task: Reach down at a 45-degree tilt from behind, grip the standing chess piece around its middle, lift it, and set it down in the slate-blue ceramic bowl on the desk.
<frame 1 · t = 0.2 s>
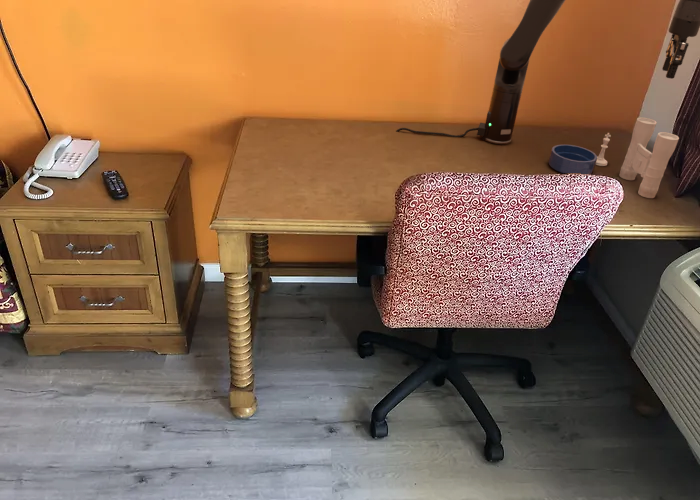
hand: (667, 74, 179), 29 cm above the table, tool pointing down, fingers open, 8 cm apart
chess piece: (598, 163, 193), on the table
binoculars: (636, 186, 180), on the table
bowl: (570, 168, 187), on the table
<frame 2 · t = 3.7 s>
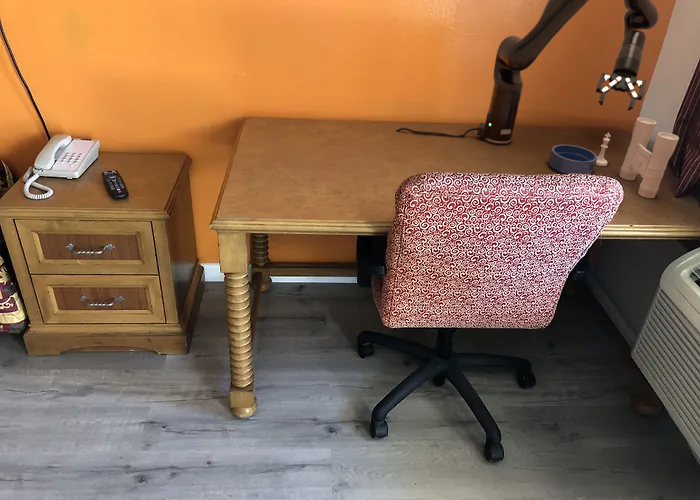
hand: (615, 106, 194), 15 cm above the table, tool tilted 45°, fingers open, 8 cm apart
nothing on the table moved.
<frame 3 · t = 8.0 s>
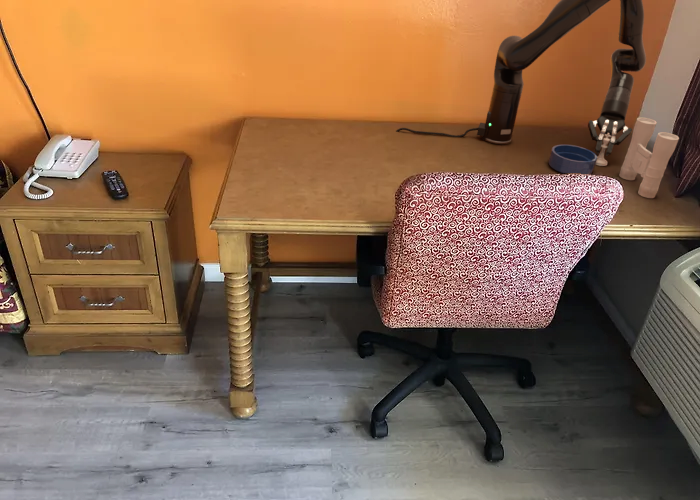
hand: (602, 153, 189), 4 cm above the table, tool tilted 45°, fingers closed on chess piece
chess piece: (598, 163, 193), on the table, touching gripper
everything else where it was.
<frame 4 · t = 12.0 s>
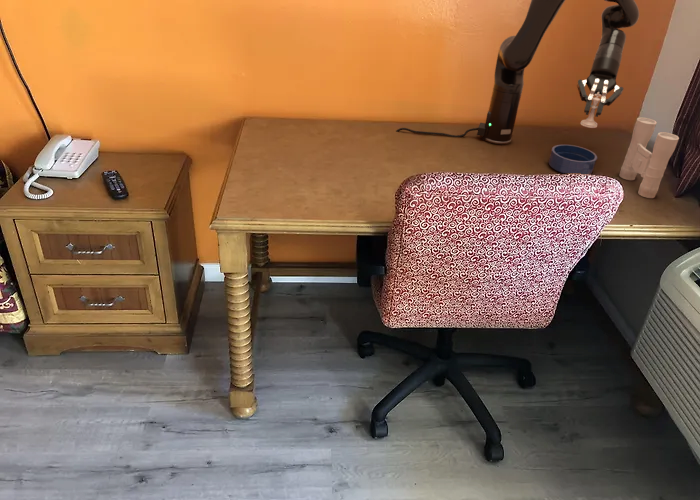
hand: (592, 114, 178), 18 cm above the table, tool tilted 45°, fingers closed on chess piece
chess piece: (588, 125, 182), point 13 cm above the table, touching gripper
everything else where it was.
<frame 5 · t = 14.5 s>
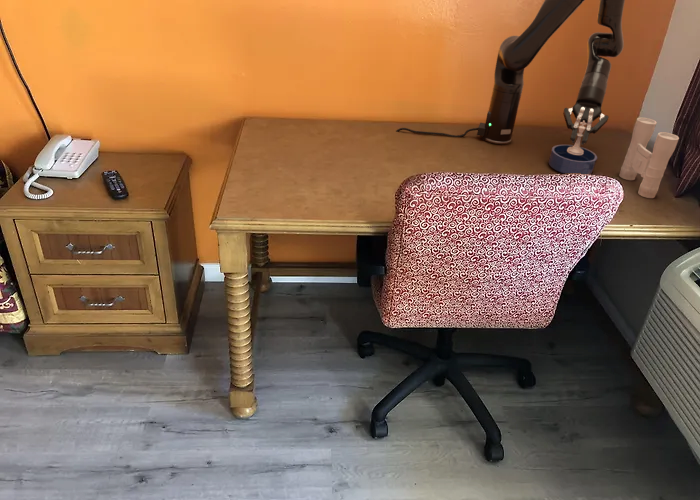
hand: (578, 142, 181), 9 cm above the table, tool tilted 45°, fingers closed on chess piece
chess piece: (574, 152, 185), point 5 cm above the table, touching gripper
everything else where it was.
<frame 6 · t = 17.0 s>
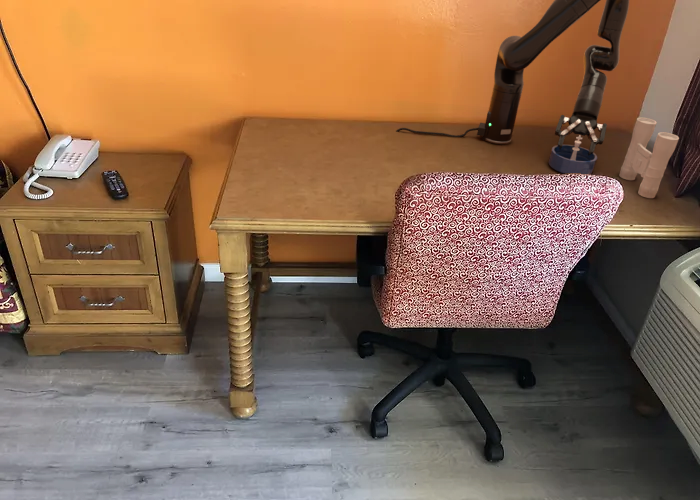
hand: (574, 151, 183), 6 cm above the table, tool tilted 45°, fingers open, 8 cm apart
chess piece: (570, 166, 187), resting on bowl
everything else where it was.
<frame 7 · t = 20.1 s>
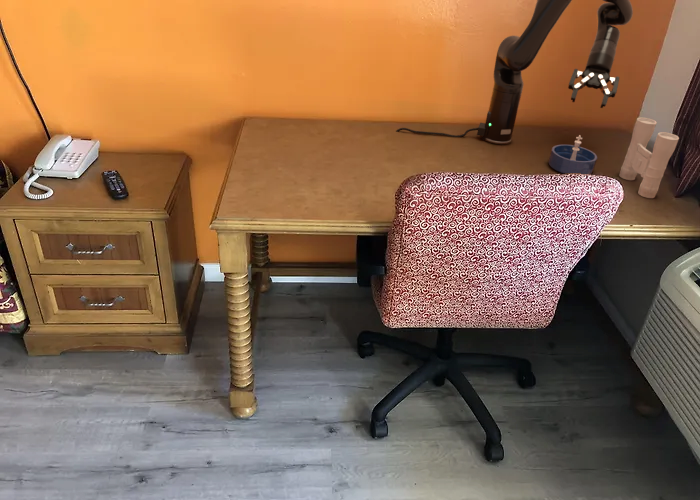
hand: (587, 103, 188), 17 cm above the table, tool tilted 45°, fingers open, 8 cm apart
nothing on the table moved.
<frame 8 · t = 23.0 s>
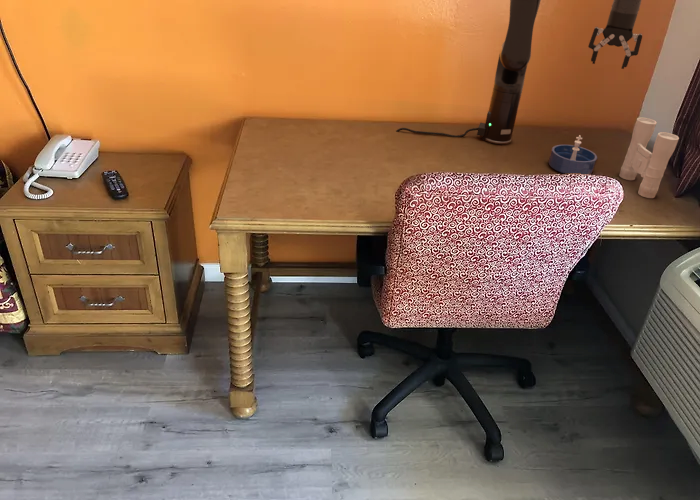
hand: (608, 65, 185), 28 cm above the table, tool pointing down, fingers open, 8 cm apart
nothing on the table moved.
at the end: chess piece inside the target area in the bowl (0.2 cm from its centre), point 0.4 cm above the bowl's base; the gripper is holding nothing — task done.
